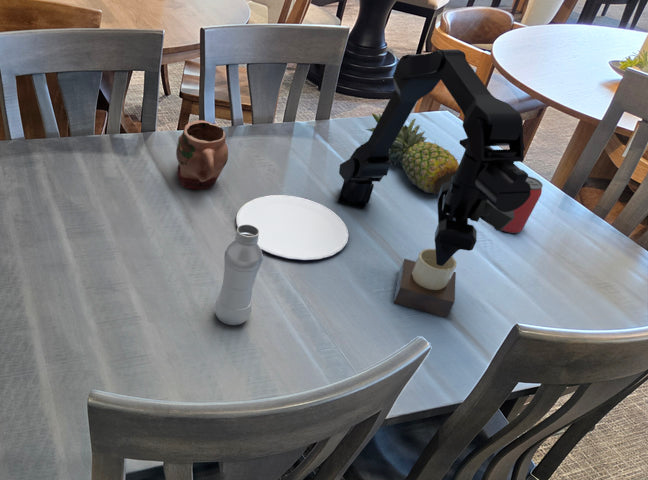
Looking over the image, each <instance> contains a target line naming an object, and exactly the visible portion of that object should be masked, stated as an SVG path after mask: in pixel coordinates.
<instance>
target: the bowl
mask: <svg viewBox="0 0 648 480" xmlns="http://www.w3.org/2000/svg"><path fill="white" fill-rule="evenodd" d="M415 262H416V263H415V265H414V268H413V270H412V276H413V279H414V281H415V282H416V283H417V284H419V285H420V286H422V287H424V288H427V289H432V290H439V289H442V288H444V287H445V286H446V285H447V284H448V283H449V281H450V279H451V277H452V275H453V272H455V270H456V268H457V261H456V259H455V258H454V257H453V256H452V257H451V258H450V259H449V260H448V261H447V262H446V263H445V264H444V265H443V266H440V265H437V263H436V249H435V248H425V249H422V250H421V251H420V252H419V253H418V255H417V258H416V260H415Z"/></svg>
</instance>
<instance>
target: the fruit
mask: <svg viewBox="0 0 648 480" xmlns="http://www.w3.org/2000/svg"><path fill="white" fill-rule="evenodd" d="M381 112H382V113H381V114H380V113H378V114H375V113H371V116H372V118H373V119H374V120H375V122H376V124H377V123H378V121H379V119H380V117H381V115H382V114H383V112H384V110H383V111H381ZM416 119H417V118H416V117H415V118H413V119H412V120H411V121H410V122H409V125H408V126H407V125H406V124H404V125H403V127H402V129H401V131H400V132H399V134H398V136H397V138H396V139H395V141H394V143H393V145H392V146H391V148H390V150H389V155H390V159H392V158H395V159H394V160H393V161H392V163H393V164H392V167H394V166H395V165H396V164H398V163H400V166H401V167H402V168H403V169H402V171H404V172H405V175H406V176H407V178H408V180H409V181H411V183H412V185H415V186H416V187H417V188H418V189H419V190H421V191H423V192H424V193H427V194H433V195H439V191H440V189H441V186H442V184H444V183H446V182H448V181H451V178H452V176H453V175H455V174H456V171H457V169H458V167H459V164H460V163H459V161H458V159H457V158H456V157H455V155H454V154H452V153H451V152H450V151H449V150H448V149H445V148H444V147H442V146H440V145H438V143H436V142H434V143H433V142H430V141H426V140H427V138H428V137H425V136H424V134H425V133H426V131H425V130H424V131H422V132H421V131H420V132H418V131H419V129H420V127H421V124H418V125H416V126H415V127H414V125H415V121H416ZM374 129H375V127H371V128H366V129H365V128H364V130H366V131H369V132H372V133H373V131H374ZM397 162H398V163H397Z"/></svg>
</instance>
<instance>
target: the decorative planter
mask: <svg viewBox="0 0 648 480" xmlns="http://www.w3.org/2000/svg"><path fill="white" fill-rule="evenodd" d="M226 138H227V137H226V133H225V130H224V129H223V127H221V126H219V124H216V123H212V122H209V121H207V120H203V119H200V120H192V121H191V122H189V123H187V124H185V126H184V128H183V130H182V133H181V134H180V136H178V143H177V146H176V149H175V154H176V155H175V156H176V160H177V162H178V165H177V169H176V170H177V171H176V175H177V179H178V182H179V184H180V185H181V186H182V187H184V188H187V189H192V190H204V189H209V188H212V187H213V186H214V185H215V184H216V182H217V180H218V178H219V177H220V175H221V173H222V171H223V169H224V167H225V166H226V165H227V163H228V159H229V148H228V145H227V143H226Z"/></svg>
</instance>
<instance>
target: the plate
mask: <svg viewBox="0 0 648 480" xmlns="http://www.w3.org/2000/svg"><path fill="white" fill-rule="evenodd" d="M235 217H236V218H235V220H236V221H235V223H236V227H237V228H238V227H239V226H241V225H252V226H255V227H256V228H257V229H258V230H259V236H258V237H259V240H258V243H257V244H258V245H259V247H260V249H261V251H262V252H265V253H268V254H271V255H272V256H276V257H279V258H284V259H287V260H295V261H316V260H323V259H326V258H330V257H332V256H335V255H336V254H339V253H340V252H342V250H343V249H344V248H345V247H346V245H347V244H348V241H349V240H348V239H349V231H348V226H347V225H346V224H345V222H344V221H343V220H342V218H341V217H340V216H339V215H337V214H336V213H335V211H333V210H332V209H330V208H328V207H326V206H325V205H323V204H322V203H319V202H316V201H313V200H310V199H307V198H303V197H300V196H295V195H285V194H275V195H274V194H273V195H264V196H260V197H256V198H254V199H251V200H249V201H247V202H246V203H245V204H243V205H242V206H241V207H240V208H239V209H238V212H237V214H236V216H235Z"/></svg>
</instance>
